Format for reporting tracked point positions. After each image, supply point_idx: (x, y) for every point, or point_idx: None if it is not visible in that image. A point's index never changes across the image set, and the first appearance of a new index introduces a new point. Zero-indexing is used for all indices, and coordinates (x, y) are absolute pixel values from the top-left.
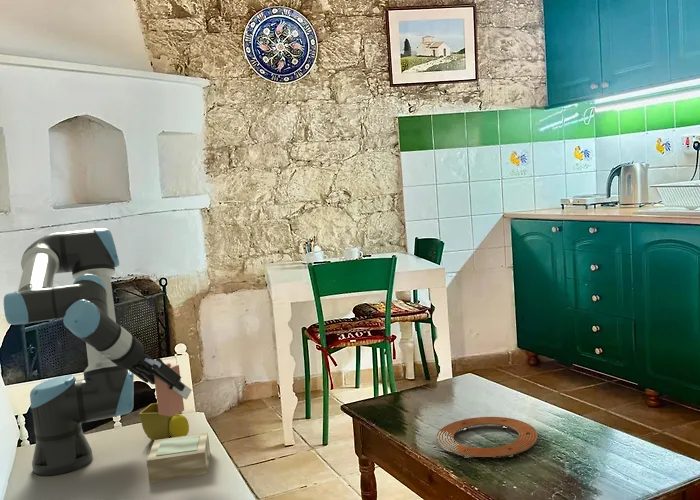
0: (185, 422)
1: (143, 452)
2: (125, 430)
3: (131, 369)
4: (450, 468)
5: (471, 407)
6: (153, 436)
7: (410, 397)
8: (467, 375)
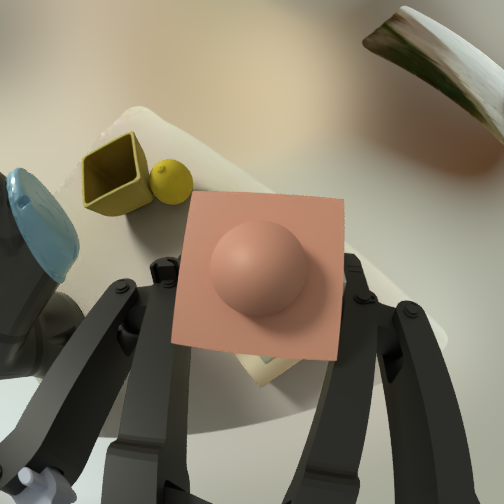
0: (185, 173)
1: (144, 261)
2: (65, 197)
3: (87, 455)
4: None
5: (473, 64)
6: (127, 211)
7: (407, 34)
8: (405, 6)
